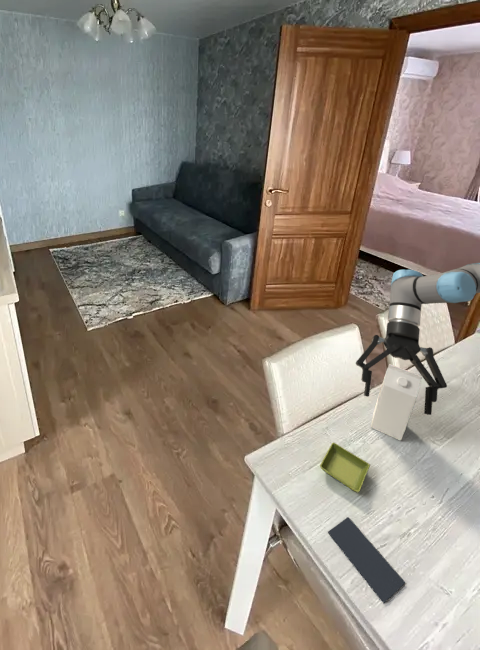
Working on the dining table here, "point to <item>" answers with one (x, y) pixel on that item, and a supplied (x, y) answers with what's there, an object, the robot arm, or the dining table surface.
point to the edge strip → (366, 559)
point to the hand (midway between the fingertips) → (396, 405)
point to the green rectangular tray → (345, 467)
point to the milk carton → (396, 401)
